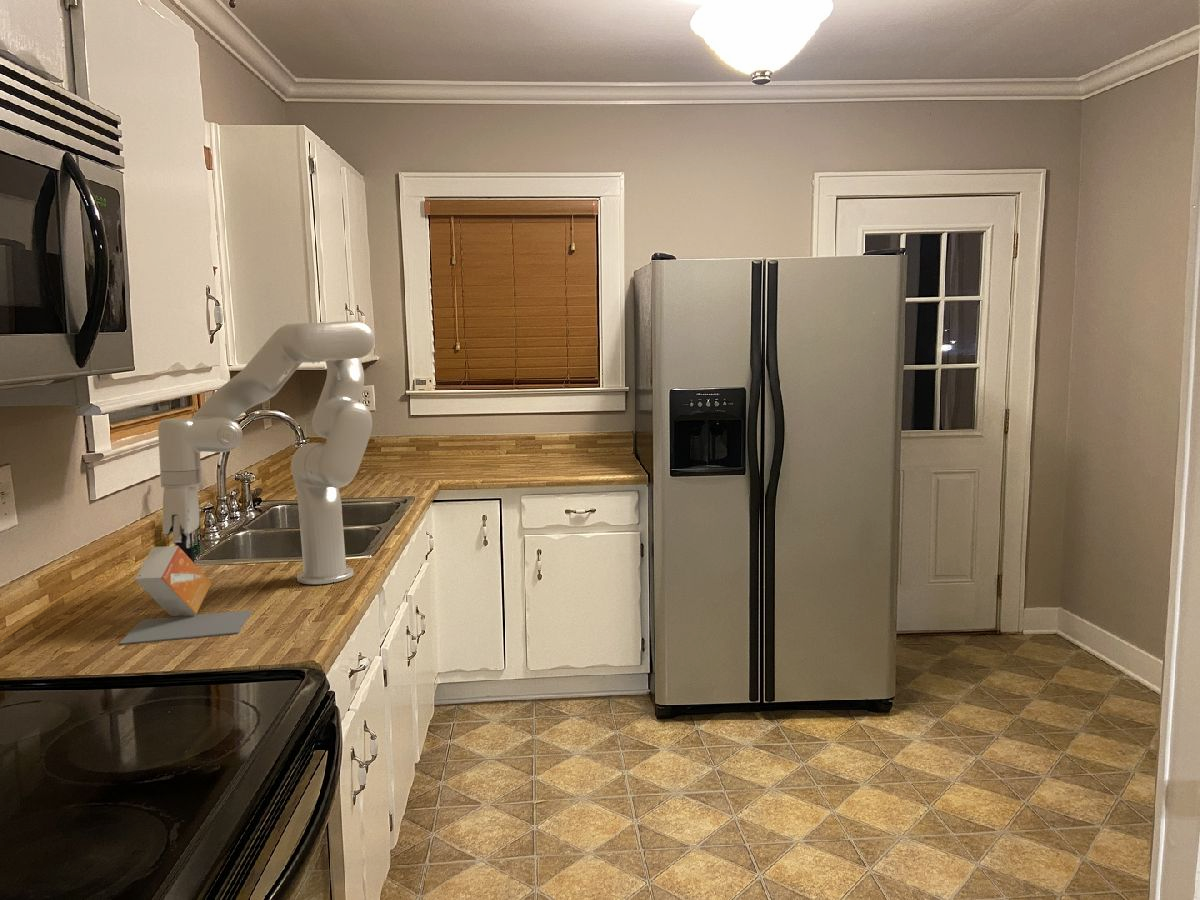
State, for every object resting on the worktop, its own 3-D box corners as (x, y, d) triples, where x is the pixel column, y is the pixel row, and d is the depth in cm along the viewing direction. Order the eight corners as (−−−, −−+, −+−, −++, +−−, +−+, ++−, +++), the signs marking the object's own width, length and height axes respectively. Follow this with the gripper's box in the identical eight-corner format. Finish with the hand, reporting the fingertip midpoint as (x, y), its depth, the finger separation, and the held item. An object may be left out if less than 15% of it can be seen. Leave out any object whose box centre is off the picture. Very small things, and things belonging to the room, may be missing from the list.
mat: (142, 621, 178) (141, 619, 178) (251, 611, 182) (251, 609, 182) (119, 644, 164) (118, 643, 164) (238, 633, 169) (238, 632, 168)
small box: (197, 615, 179) (160, 578, 170) (170, 616, 181) (132, 579, 172) (213, 582, 185) (178, 544, 176) (187, 583, 186) (151, 546, 177)
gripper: (172, 474, 187) (176, 559, 189) (149, 484, 173) (154, 575, 175) (209, 473, 189) (213, 558, 191) (190, 483, 174) (194, 574, 176)
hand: (185, 566), depth 183 cm, fingers closed
